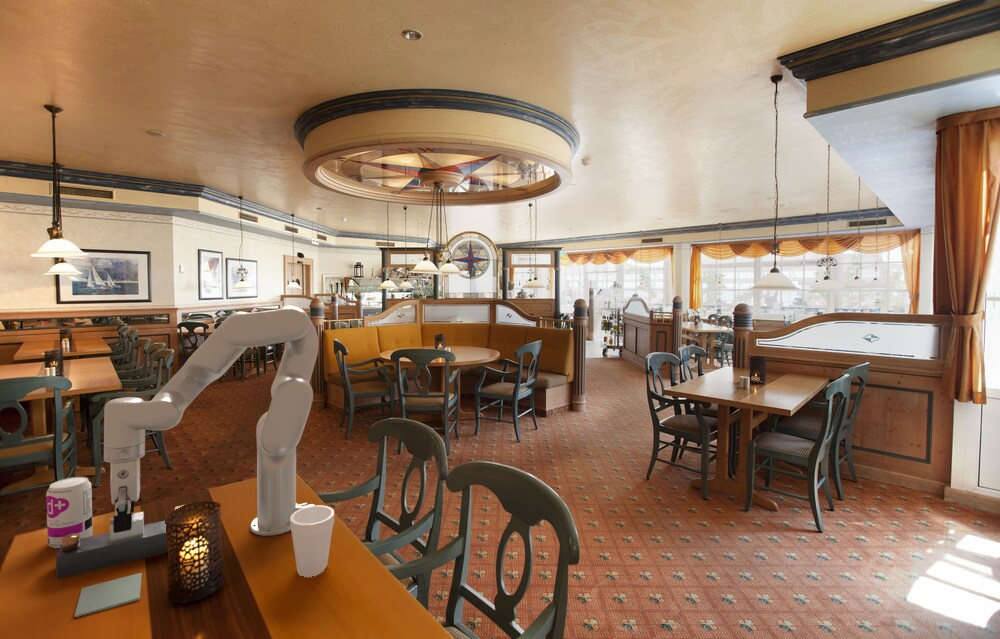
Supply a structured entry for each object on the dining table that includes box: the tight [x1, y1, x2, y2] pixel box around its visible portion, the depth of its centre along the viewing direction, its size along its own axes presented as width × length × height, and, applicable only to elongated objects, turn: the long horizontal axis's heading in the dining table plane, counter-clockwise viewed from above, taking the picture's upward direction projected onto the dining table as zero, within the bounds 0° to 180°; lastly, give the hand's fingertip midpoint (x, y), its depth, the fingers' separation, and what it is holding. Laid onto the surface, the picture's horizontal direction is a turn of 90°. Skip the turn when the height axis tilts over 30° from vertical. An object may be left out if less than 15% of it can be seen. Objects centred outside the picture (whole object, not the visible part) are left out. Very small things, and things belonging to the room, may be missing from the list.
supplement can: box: [45, 476, 94, 550], centre depth 116 cm, size 8×8×15 cm
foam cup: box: [290, 504, 335, 578], centre depth 107 cm, size 10×9×13 cm
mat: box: [73, 572, 143, 617], centre depth 97 cm, size 10×10×1 cm
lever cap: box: [109, 511, 145, 543], centre depth 111 cm, size 6×4×5 cm
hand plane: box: [55, 504, 185, 580], centre depth 111 cm, size 24×7×9 cm, turn 126°
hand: (124, 521), depth 110 cm, fingers open, 9 cm apart
